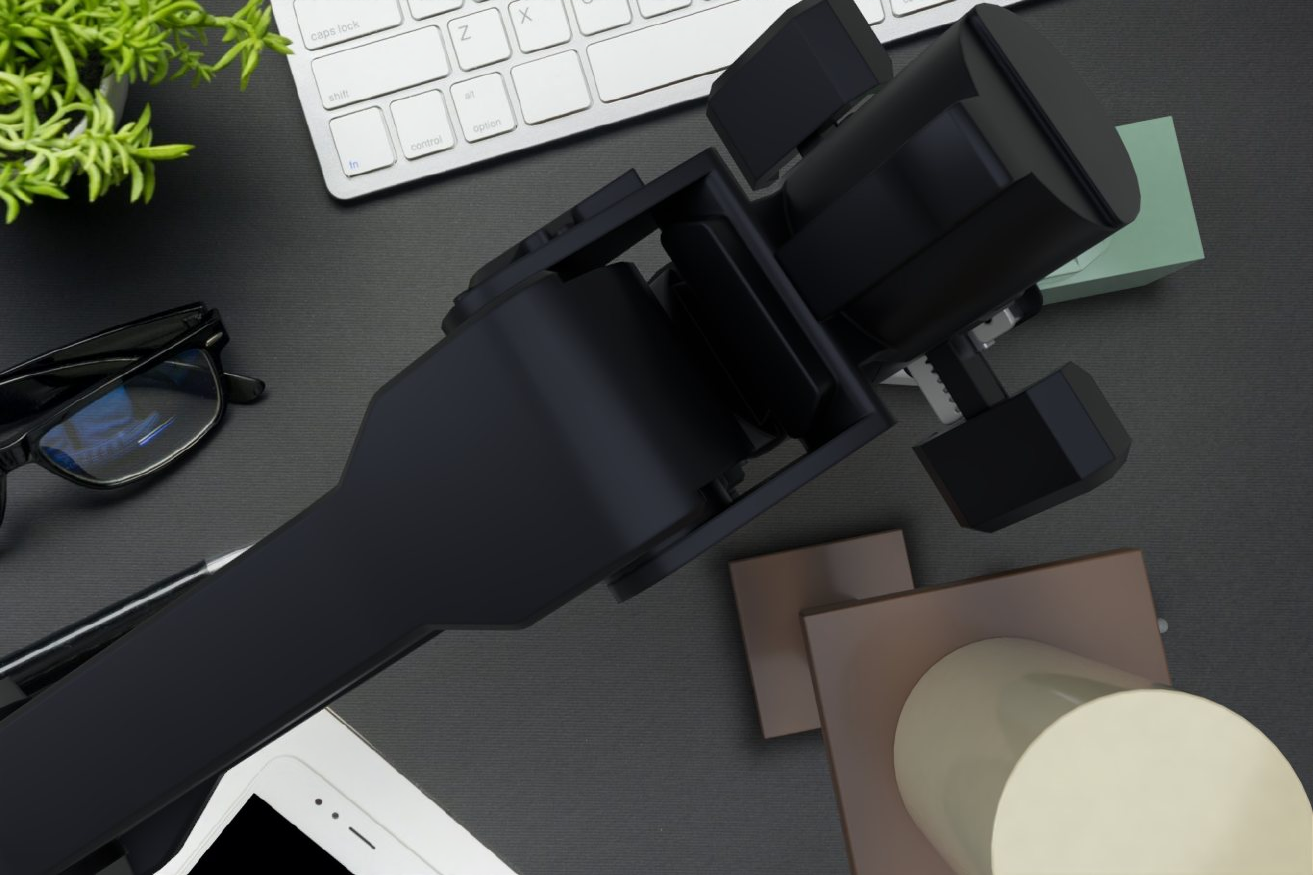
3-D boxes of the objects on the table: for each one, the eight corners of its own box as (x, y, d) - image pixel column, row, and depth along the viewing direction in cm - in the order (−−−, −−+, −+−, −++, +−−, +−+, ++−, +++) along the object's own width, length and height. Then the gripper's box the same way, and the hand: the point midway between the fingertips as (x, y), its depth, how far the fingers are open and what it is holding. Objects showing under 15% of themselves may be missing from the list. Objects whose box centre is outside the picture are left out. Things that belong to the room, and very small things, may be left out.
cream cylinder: (919, 897, 27) (1030, 1059, 19) (871, 661, 28) (960, 724, 20) (1150, 850, 27) (1356, 992, 19) (1098, 616, 28) (1280, 660, 20)
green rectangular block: (946, 324, 56) (994, 293, 48) (918, 195, 57) (961, 144, 49) (1144, 285, 57) (1225, 248, 49) (1115, 158, 57) (1191, 100, 49)
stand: (762, 734, 55) (874, 968, 27) (727, 561, 56) (802, 615, 28) (933, 700, 55) (1221, 898, 27) (897, 528, 56) (1142, 547, 28)
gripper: (1235, 485, 26) (1330, 327, 37) (830, -152, 27) (1042, -116, 38) (888, 620, 33) (1055, 455, 45) (582, 120, 34) (821, 82, 46)
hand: (996, 227), depth 43 cm, fingers closed
